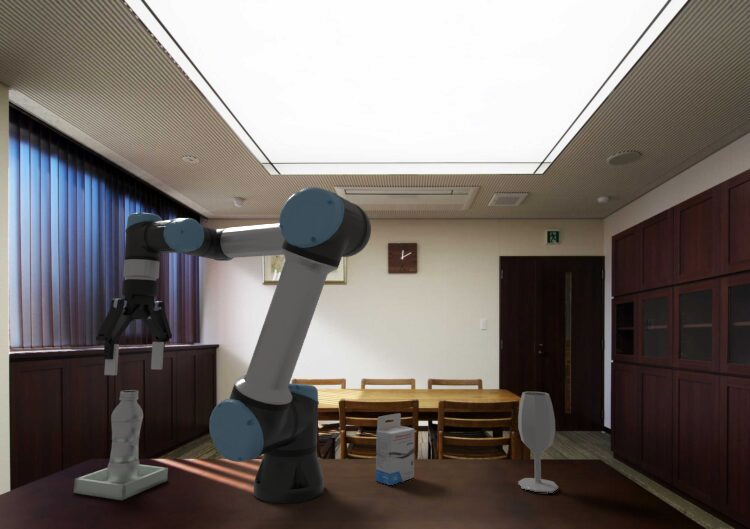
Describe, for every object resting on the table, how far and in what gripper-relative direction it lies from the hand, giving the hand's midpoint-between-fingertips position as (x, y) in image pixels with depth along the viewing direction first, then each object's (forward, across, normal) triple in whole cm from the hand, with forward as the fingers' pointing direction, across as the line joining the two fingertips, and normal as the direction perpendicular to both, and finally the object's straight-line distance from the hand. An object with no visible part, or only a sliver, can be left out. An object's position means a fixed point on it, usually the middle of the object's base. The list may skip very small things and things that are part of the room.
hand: (134, 372), depth 109 cm
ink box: (+26, -24, +55) cm, 65 cm away
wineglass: (+26, -30, +87) cm, 96 cm away
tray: (+25, 0, -1) cm, 25 cm away
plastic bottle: (+24, +1, -1) cm, 24 cm away
